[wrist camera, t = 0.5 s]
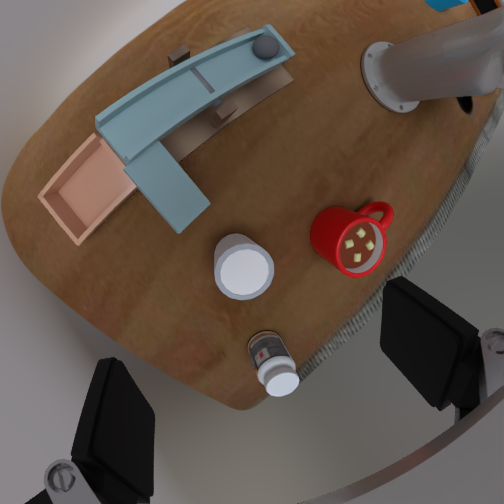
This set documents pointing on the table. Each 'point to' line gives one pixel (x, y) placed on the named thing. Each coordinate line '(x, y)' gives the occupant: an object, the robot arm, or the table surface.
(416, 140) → the table surface
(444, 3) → the mug
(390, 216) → the mug
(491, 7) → the alarm clock
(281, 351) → the pill bottle
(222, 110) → the launcher base
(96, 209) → the pink open box
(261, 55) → the ball
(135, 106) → the lever
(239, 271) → the white cylinder
